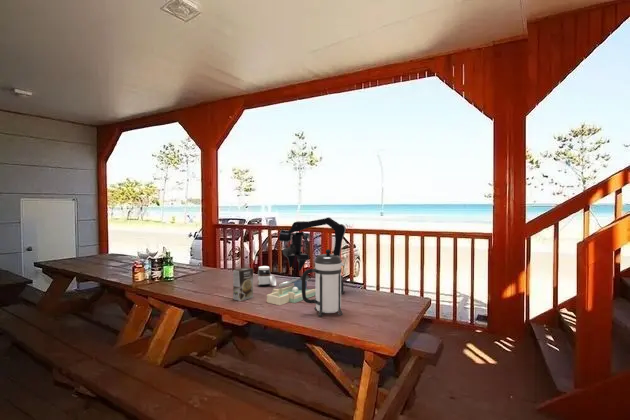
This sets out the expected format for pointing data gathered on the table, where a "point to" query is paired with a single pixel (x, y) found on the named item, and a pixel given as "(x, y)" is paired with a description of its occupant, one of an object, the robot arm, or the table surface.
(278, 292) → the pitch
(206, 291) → the table surface
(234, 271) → the coffee box
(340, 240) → the robot arm
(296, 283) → the rod
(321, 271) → the coffee press
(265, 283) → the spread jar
